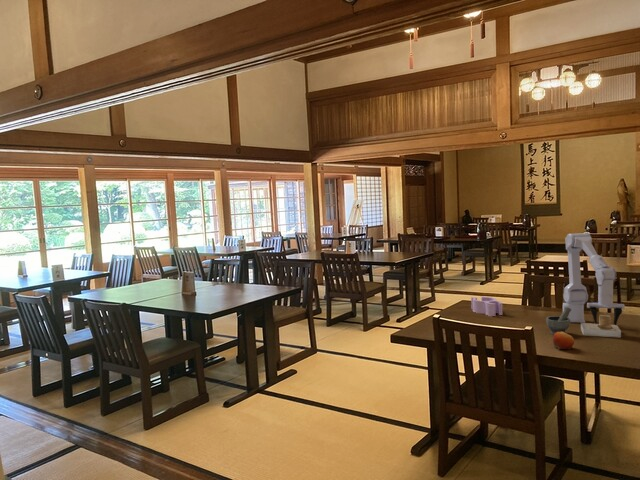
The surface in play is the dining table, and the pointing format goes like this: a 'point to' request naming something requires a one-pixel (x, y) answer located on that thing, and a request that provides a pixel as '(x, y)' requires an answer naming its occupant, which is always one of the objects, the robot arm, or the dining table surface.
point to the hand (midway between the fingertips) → (605, 324)
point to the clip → (486, 306)
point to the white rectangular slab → (600, 330)
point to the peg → (605, 322)
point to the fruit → (563, 340)
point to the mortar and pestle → (559, 322)
